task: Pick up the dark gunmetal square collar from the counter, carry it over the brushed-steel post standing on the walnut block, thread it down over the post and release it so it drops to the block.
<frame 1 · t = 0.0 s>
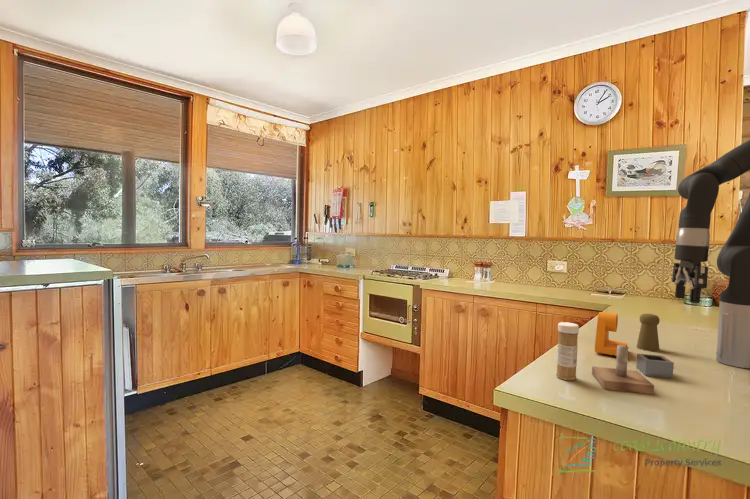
hand: (686, 300, 115), 17 cm above the counter, tool pointing down, fingers open, 8 cm apart
post: (620, 383, 95), on the counter
collar: (653, 373, 103), on the counter
bracket: (611, 353, 121), on the counter
sprinkles bottle: (565, 378, 98), on the counter
cork: (647, 349, 126), on the counter
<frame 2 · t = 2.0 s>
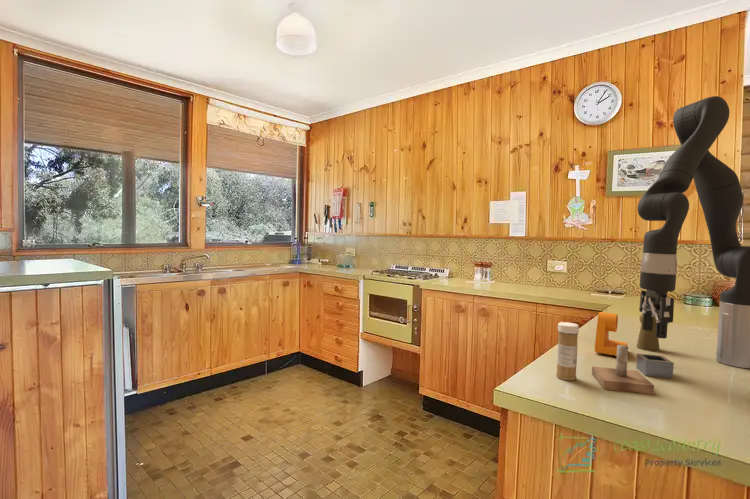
hand: (653, 333, 103), 10 cm above the counter, tool pointing down, fingers open, 8 cm apart
nothing on the counter moved.
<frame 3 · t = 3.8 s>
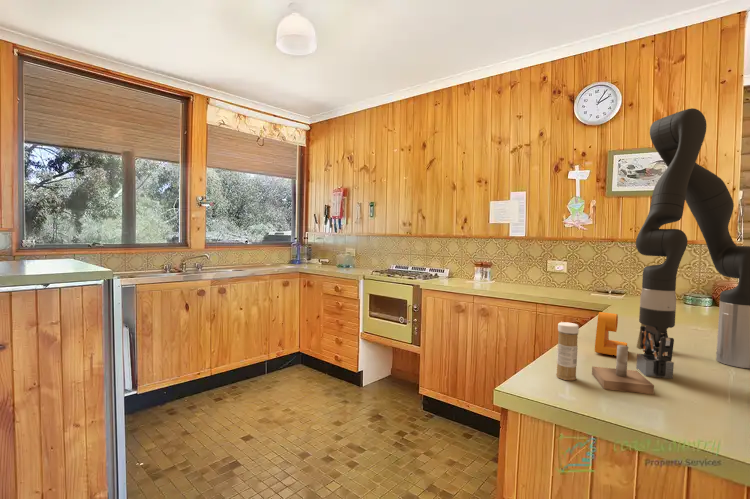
hand: (654, 371, 103), 1 cm above the counter, tool pointing down, fingers closed on collar, 6 cm apart
collar: (653, 373, 103), on the counter, touching gripper
everything else where it was.
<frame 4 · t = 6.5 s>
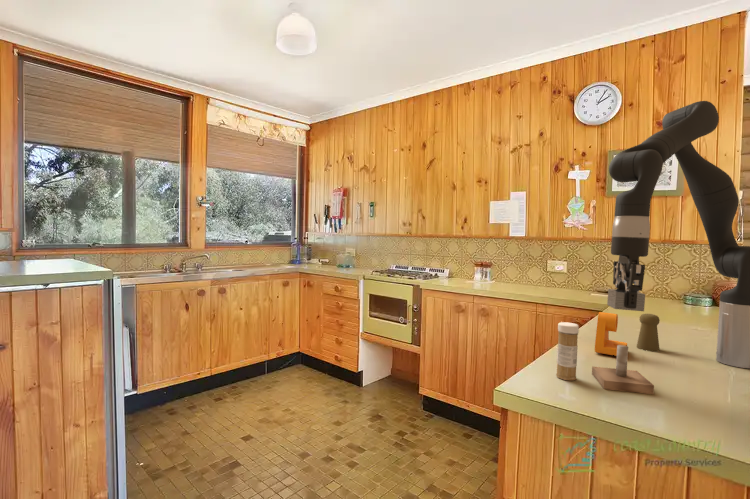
hand: (625, 305, 96), 19 cm above the counter, tool pointing down, fingers closed on collar, 6 cm apart
collar: (624, 308, 96), point 18 cm above the counter, touching gripper
everything else where it was.
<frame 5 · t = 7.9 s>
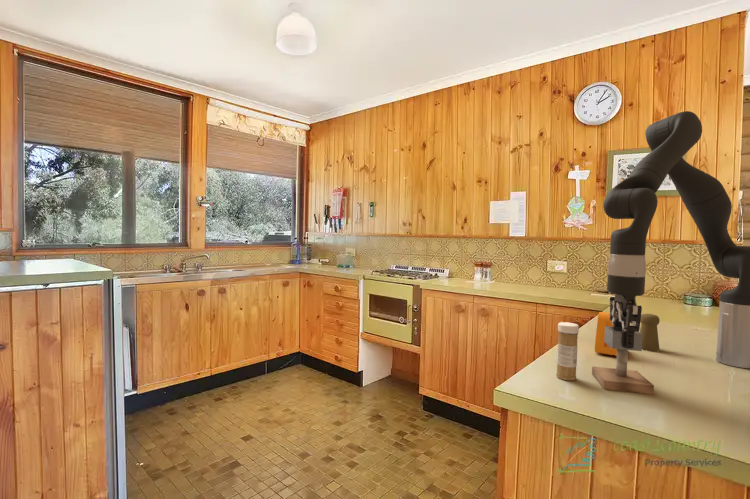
hand: (622, 343, 95), 10 cm above the counter, tool pointing down, fingers closed on collar, 6 cm apart
collar: (622, 346, 95), point 9 cm above the counter, touching gripper
everything else where it was.
when the fingers open (6 cm above the counter, at t = 9.2 s): collar drops 3 cm, resting on post.
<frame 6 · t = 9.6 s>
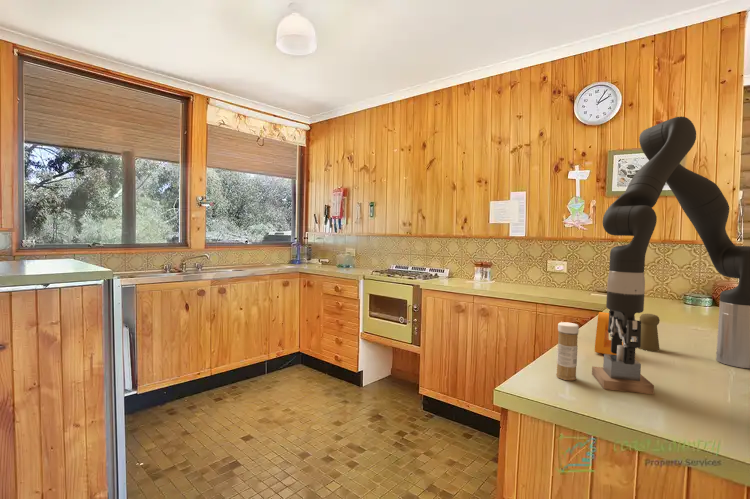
hand: (622, 358, 95), 6 cm above the counter, tool pointing down, fingers open, 8 cm apart
collar: (620, 375, 95), point 2 cm above the counter, touching post
everything else where it was.
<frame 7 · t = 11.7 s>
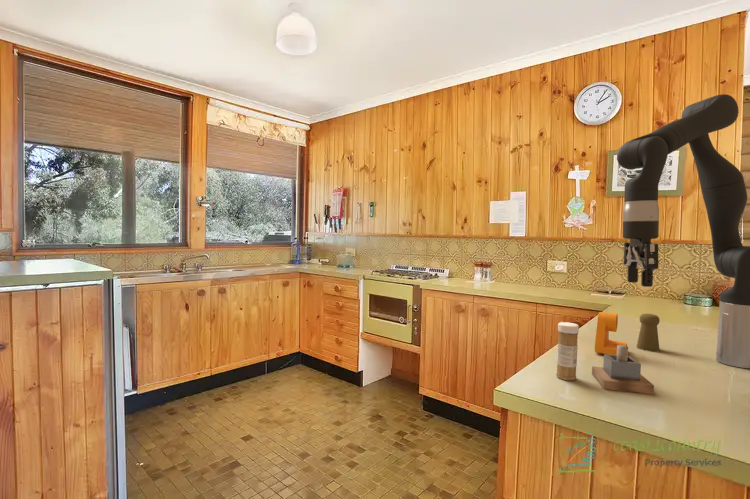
hand: (639, 284, 101), 23 cm above the counter, tool pointing down, fingers open, 8 cm apart
nothing on the counter moved.
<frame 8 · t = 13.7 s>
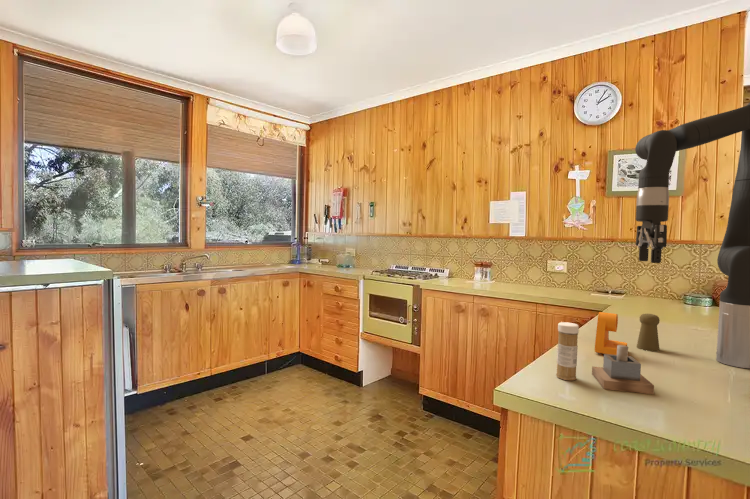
hand: (649, 262, 113), 28 cm above the counter, tool pointing down, fingers open, 8 cm apart
nothing on the counter moved.
at the end: collar 0.0 cm off-centre on the post, point 2.0 cm above the post's base; the gripper is holding nothing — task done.
